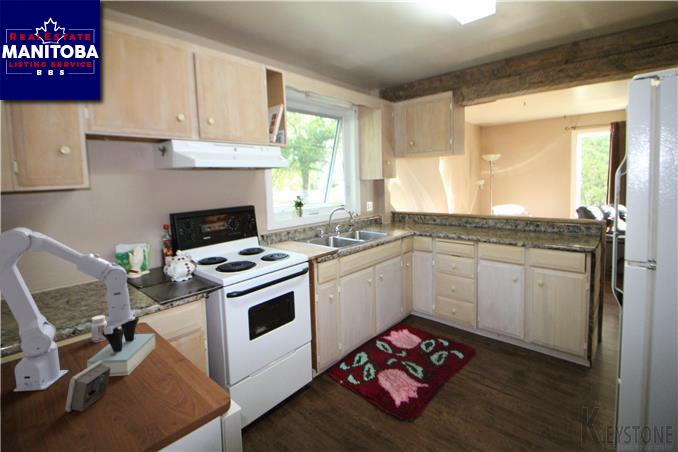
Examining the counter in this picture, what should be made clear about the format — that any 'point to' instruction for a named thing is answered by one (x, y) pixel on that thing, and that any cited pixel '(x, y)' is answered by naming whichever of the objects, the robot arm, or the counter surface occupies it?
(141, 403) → the counter surface
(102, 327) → the pill bottle
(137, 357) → the base
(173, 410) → the counter surface
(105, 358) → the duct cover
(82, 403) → the electrical switch
